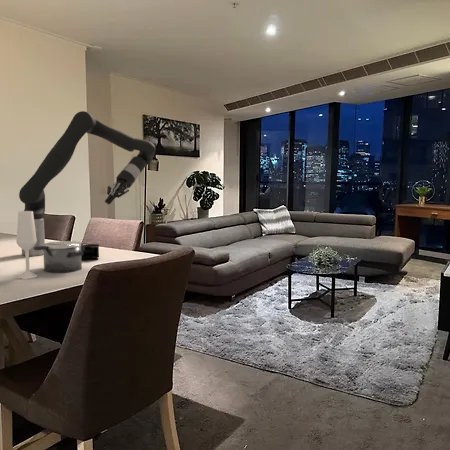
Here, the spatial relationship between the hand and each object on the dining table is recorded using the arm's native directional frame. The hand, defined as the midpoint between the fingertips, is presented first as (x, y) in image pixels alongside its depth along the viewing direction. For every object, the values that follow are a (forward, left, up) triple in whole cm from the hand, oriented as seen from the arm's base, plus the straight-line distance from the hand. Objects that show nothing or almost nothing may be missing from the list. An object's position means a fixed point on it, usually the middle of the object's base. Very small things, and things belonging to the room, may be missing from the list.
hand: (107, 203), depth 176 cm
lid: (-15, -18, -17) cm, 29 cm away
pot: (-14, -17, -26) cm, 34 cm away
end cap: (-10, +4, -26) cm, 28 cm away
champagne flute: (-23, -30, -26) cm, 46 cm away
